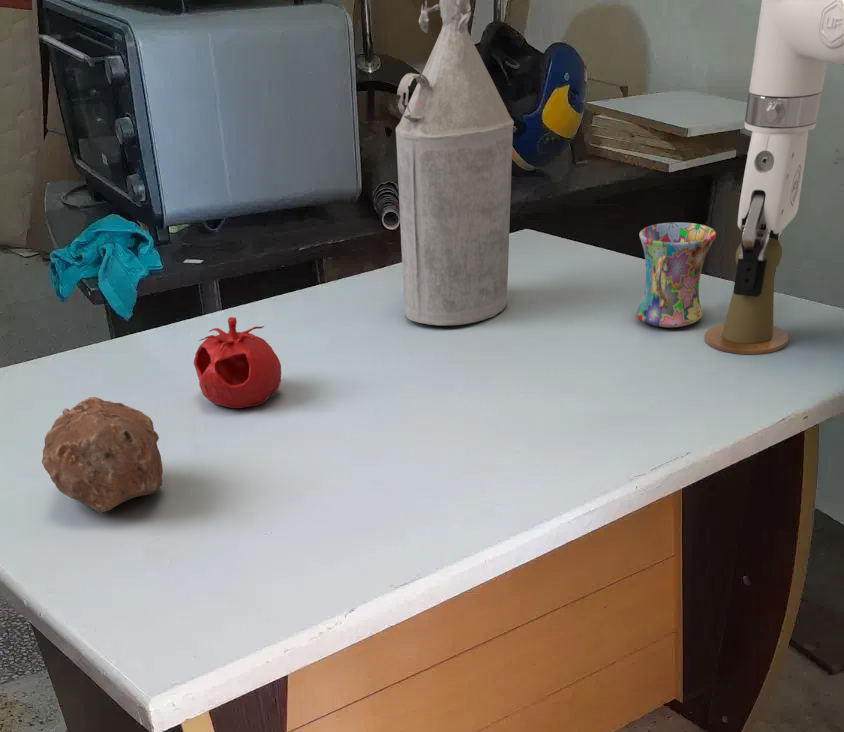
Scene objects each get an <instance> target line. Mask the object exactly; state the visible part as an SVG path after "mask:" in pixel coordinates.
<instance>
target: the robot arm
mask: <svg viewBox="0 0 844 732" xmlns="http://www.w3.org/2000/svg"><path fill="white" fill-rule="evenodd" d="M758 19H759V20H758V24H757V25H758V26H757V33H756V39H755V40H756V41H755V45H754V54H753V55H754V56H753V60H752V67H751V68H752V69H751V74H750V75H751V76H750V83H749V89H748V90H749V91H748V96H747V103H746V112H745V118H744V125H743V127H744V129H745V130H747V131H750V132H751V136H750V141H749V145H748V151H747V157H746V162H745V166H744V167H745V168H744V174H743V179H742V185H741V192H740V199H739V203H738V204H739V206H738V212H737V213H738V215H737V228H738V229H739V230H740V231H741V232H742V235H741V243H740V244H741V248H740V252H739V258H738V264H736V271H735V276H734V277H735V278H734V285H733V291H734V294H736V295H745V296H754V297H758V296H760V295H761V293H762V288H763V282H764V276H765V270H766V264H767V260H766V259H764V258H765V254H766V249H767V245H768V240H769V237H770V238H774V239H776V240H777V241H779V243H780V242H781V239H782V231H783V230H784V229H785V228H786V227H787V226H788V225H789V224H790V223H791V222H792V221H793V219H795V217H796V216H797V213H798V211H799V206H800V198H801V191H802V185H803V177H804V172H805V165H806V164H805V163H806V157H807V148H808V138H809V131H813V130H815V128H816V127H817V120H818V116H819V110H820V104H821V100H822V99H821V98H822V93H823V92H822V91H823V88H824V82H825V77H826V73H827V65H828V64H831V65H838V66H840V65H841V66H844V0H761V4H760V11H759V18H758ZM757 237H762V242H760V240H759V239H756V238H757ZM760 244H761V246H760ZM780 244H781V243H780ZM776 272H777V268H776V269H775V273H774V278H776V277H775V276H776Z"/></svg>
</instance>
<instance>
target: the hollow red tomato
mask: <svg viewBox="0 0 844 732" xmlns="http://www.w3.org/2000/svg"><path fill="white" fill-rule="evenodd" d="M227 324H228V325H227V326H228V332H225V331H224V330H222V329H220V328H219V327H214V328H212V329H210V330H208V332H212V331H214V332H215V331H216V332H217V333H218V334H217V335H214V334H211V335H207V336H205V337H204V338H201V339H199V340H198V342H201V341H203V342H202V343H200V344H199V346H198V348H197V350H196V352H195V354H194V358H193V366H194V368H195V371H196V375H197V378H198V385H199V388H200V391H201V393H202V395H203V397H204V398H206V400H207V401H209V402H211V403H212V404H214V405H218V406H222V407H227V408H230V409H243V408H248V407H255V406H259V405H262V404H264V403H266V401H267V400H268V398H270V397H272V396H273V395H274V394H275V393H276V392H277V391H278V390H279V388H280V385H281V382H282V364H281V361H280V359H279V357H278V355H277V354H276V352H275V351H274V349H273V348H272V346H271V345H270V344H269V343H268V342H267V341H266V340H265V339H264V338H262V337H261V336H258V335H255V334H253V333H250V332H253V330H256V329H263V328H264V327H265V325H263V326H253V327H251V328H249V329H247V330H244V331H237V317H232V316H230V317H229V318H228V319H227Z"/></svg>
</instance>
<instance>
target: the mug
mask: <svg viewBox="0 0 844 732" xmlns="http://www.w3.org/2000/svg"><path fill="white" fill-rule="evenodd" d="M638 236H639V240H640V242H641V245H642V249H643V254H644V258H645V259H644V262H645V283H644V290H643V294H642V297H641V300H640V303H639V305H638V307H637V308H636V310H635V315H636V318H637V319H638V320H639V321H641V322H642V323H645V324H647V325H649V326H653V327H659V328H681V327H685V326H689V325H692V324H694V323H697V322H698V321H699V320H701V318H703V317H702V316H703V310H702V309H703V308H702V306H701V302H700V292H699V291H700V280H701V274H702V269H703V266H704V262H705V259H706V257H707V255H708V253H709V250H710V248H711V246H712V245H713V242H714V241H715V239H716V237H717V232H716V230H715V229H713V228H712V227H710V226H707V225H705V224H700V223H693V222H677V221H676V222H663V223H656V224H651V225H648V226H646V227H643V228H642V229H641V230H640V232H639V235H638Z"/></svg>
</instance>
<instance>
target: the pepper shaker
mask: <svg viewBox="0 0 844 732" xmlns="http://www.w3.org/2000/svg"><path fill="white" fill-rule="evenodd" d="M756 239H759V240H760V242H762V237H757V238H756ZM760 246H761V244H760ZM740 248H741V243H740V244H739V246H738V247H737V249H736V253H735V263H736V265H737V264H738V258H739V252H740ZM782 256H783V247H782V244H781V243H779V241H777V240H776V239H774V238H770V237H769V240H768V245H767V249H766V254H765V258H764V259H766V260H767V264H766V270H765V276H764V282H763V288H762V293H761V295H760V296H758V297H754V296H745V295H736V294H734V290H732V295H731V298H730V303H729V306H728V310H727V314H726V318H725V322H724V324H725V325H724V329H723V333H722V335H723V337H724V338H725V339H727V340H729V341H732V342H736V343H744V344H753V343H761V342H765V341H767V340H769V339H771V338H772V336H773V326H774V308H775V307H774V304H775V303H774V301H775V277H774V273H775V274H776V272H775V269H776V270H777V268H778V267H779V265H780V262H781V260H782V258H783V257H782Z"/></svg>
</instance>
